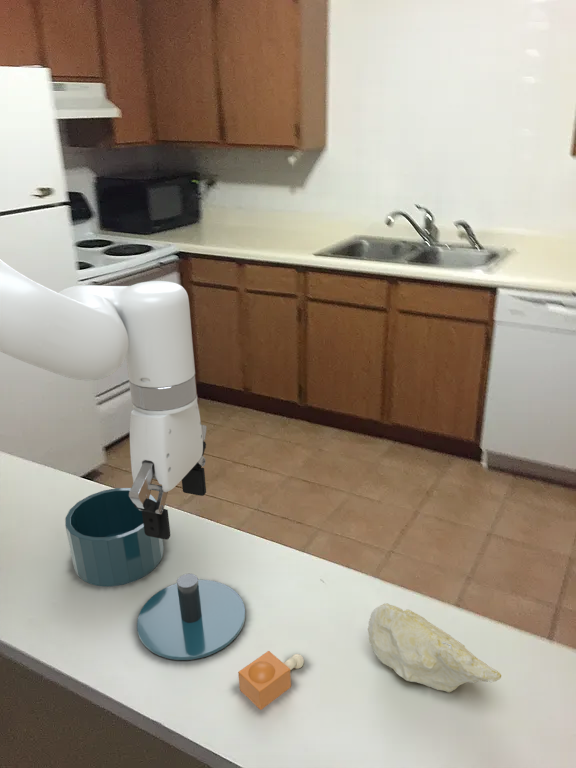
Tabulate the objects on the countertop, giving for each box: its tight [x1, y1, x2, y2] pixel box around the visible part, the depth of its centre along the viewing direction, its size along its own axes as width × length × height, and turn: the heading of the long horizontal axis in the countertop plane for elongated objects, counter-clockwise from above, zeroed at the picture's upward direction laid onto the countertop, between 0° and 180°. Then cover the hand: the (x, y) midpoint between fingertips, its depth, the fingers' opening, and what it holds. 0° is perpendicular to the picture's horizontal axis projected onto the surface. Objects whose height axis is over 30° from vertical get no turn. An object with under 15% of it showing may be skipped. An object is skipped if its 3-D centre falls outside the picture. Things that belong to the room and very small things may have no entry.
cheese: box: [367, 602, 502, 693], centre depth 81 cm, size 15×7×15 cm
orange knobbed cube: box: [237, 650, 305, 711], centre depth 81 cm, size 8×4×4 cm, turn 132°
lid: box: [136, 573, 246, 661], centre depth 90 cm, size 15×15×7 cm
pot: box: [64, 487, 165, 587], centre depth 103 cm, size 14×14×8 cm
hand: (177, 513), depth 84 cm, fingers open, 9 cm apart
